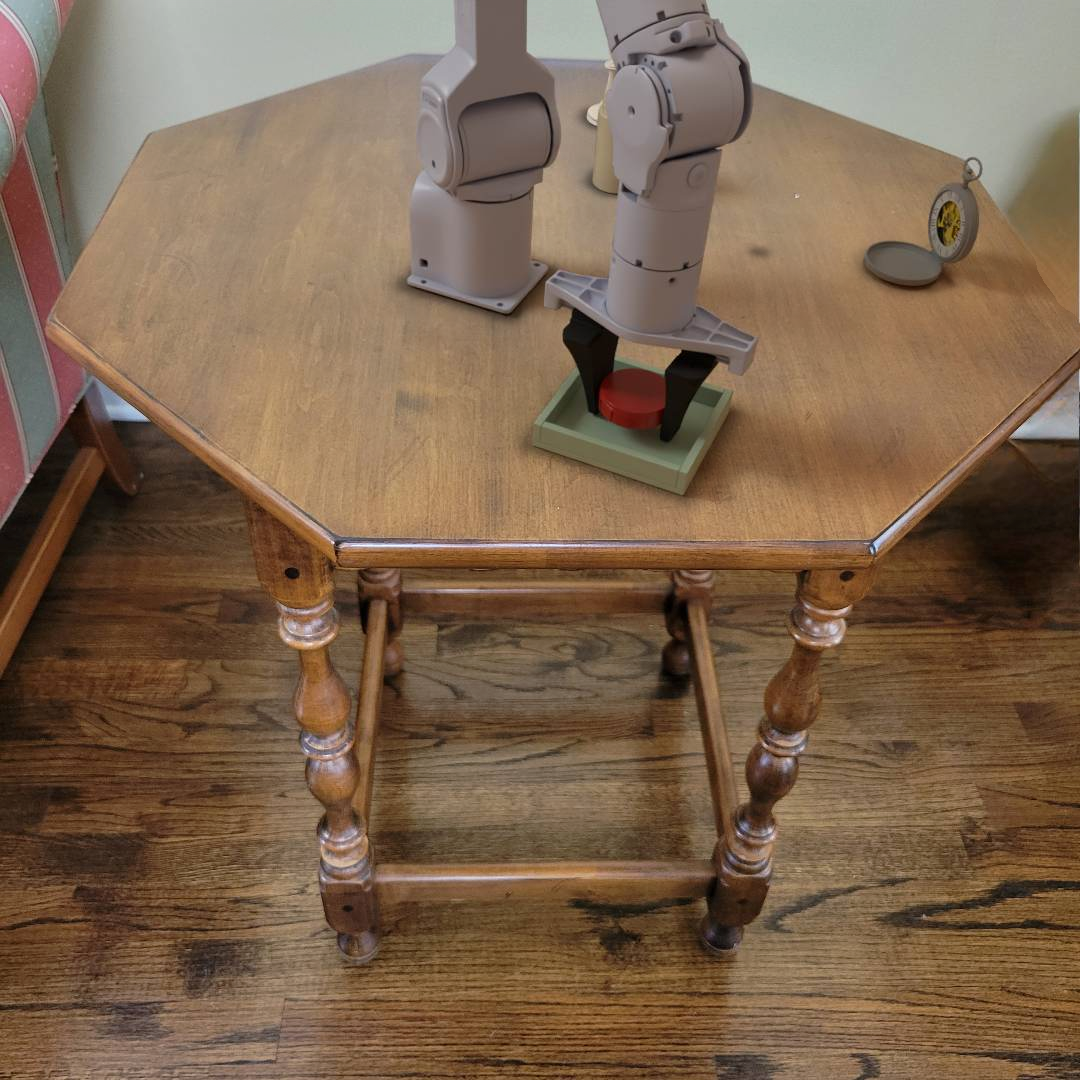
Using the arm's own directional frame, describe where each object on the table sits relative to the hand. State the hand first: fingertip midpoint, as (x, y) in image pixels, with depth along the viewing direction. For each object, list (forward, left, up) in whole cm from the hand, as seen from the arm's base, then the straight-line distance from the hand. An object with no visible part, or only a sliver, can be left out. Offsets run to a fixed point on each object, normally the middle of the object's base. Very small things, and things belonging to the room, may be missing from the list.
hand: (633, 419), depth 76 cm
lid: (0, 0, +2) cm, 2 cm away
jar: (-15, +34, -1) cm, 38 cm away
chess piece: (-21, +47, -1) cm, 52 cm away
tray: (0, 0, -1) cm, 1 cm away
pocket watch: (+14, +32, -1) cm, 35 cm away
